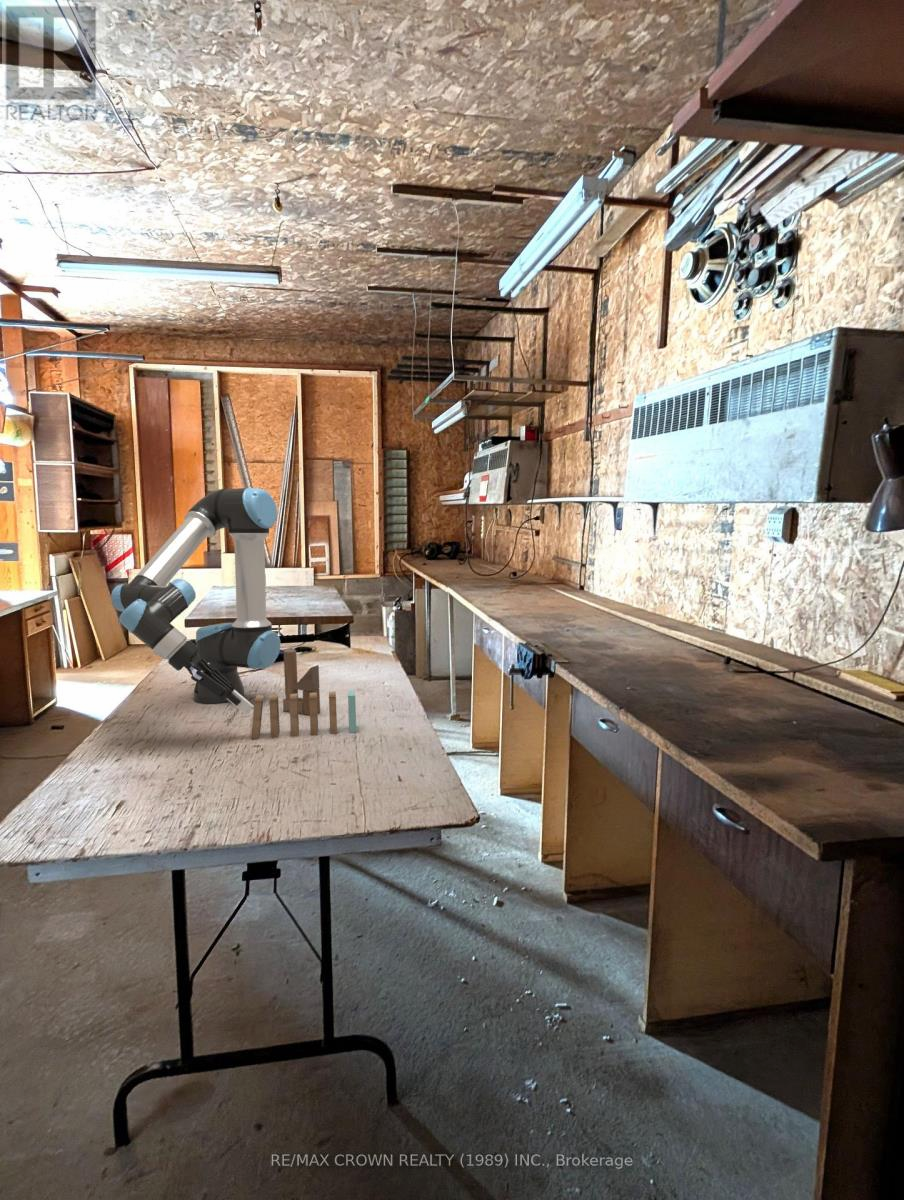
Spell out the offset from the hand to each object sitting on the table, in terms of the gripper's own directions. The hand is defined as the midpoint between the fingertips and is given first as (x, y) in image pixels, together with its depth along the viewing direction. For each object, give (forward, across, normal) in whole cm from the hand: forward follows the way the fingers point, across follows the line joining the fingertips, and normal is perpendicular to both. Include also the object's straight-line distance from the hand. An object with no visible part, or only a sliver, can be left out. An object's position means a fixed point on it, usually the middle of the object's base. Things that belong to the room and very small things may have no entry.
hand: (249, 710), depth 169 cm
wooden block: (+14, -19, +3) cm, 23 cm away
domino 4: (+16, 0, +6) cm, 18 cm away
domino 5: (+20, 0, +10) cm, 22 cm away
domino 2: (+9, 0, -1) cm, 9 cm away
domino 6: (+23, 0, +14) cm, 27 cm away
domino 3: (+13, 0, +3) cm, 13 cm away
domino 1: (+6, 0, -4) cm, 7 cm away
